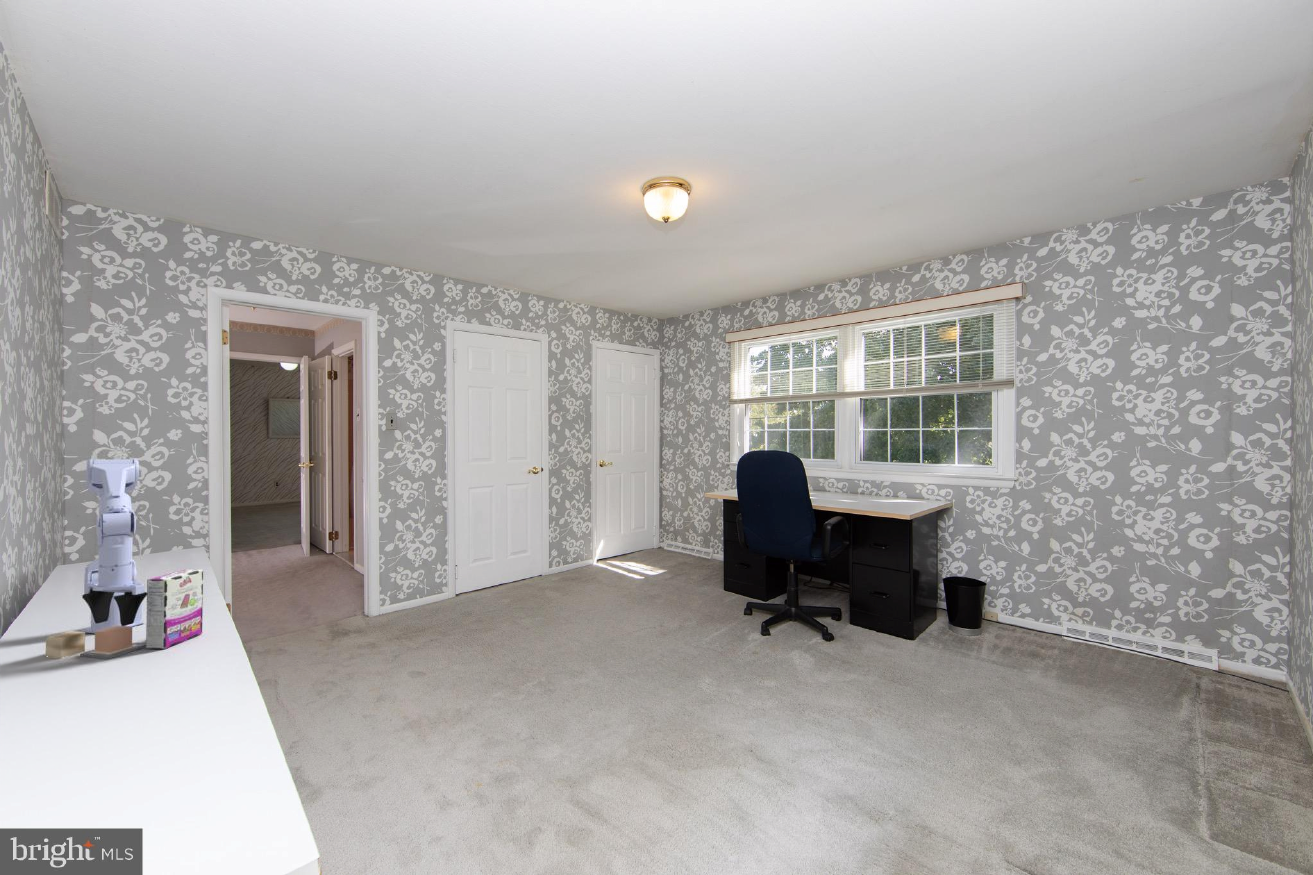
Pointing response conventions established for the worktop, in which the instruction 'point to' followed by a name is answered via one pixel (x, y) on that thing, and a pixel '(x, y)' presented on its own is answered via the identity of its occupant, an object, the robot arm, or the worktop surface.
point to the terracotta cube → (113, 638)
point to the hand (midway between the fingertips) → (114, 623)
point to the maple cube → (65, 644)
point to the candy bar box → (174, 608)
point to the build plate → (113, 654)
